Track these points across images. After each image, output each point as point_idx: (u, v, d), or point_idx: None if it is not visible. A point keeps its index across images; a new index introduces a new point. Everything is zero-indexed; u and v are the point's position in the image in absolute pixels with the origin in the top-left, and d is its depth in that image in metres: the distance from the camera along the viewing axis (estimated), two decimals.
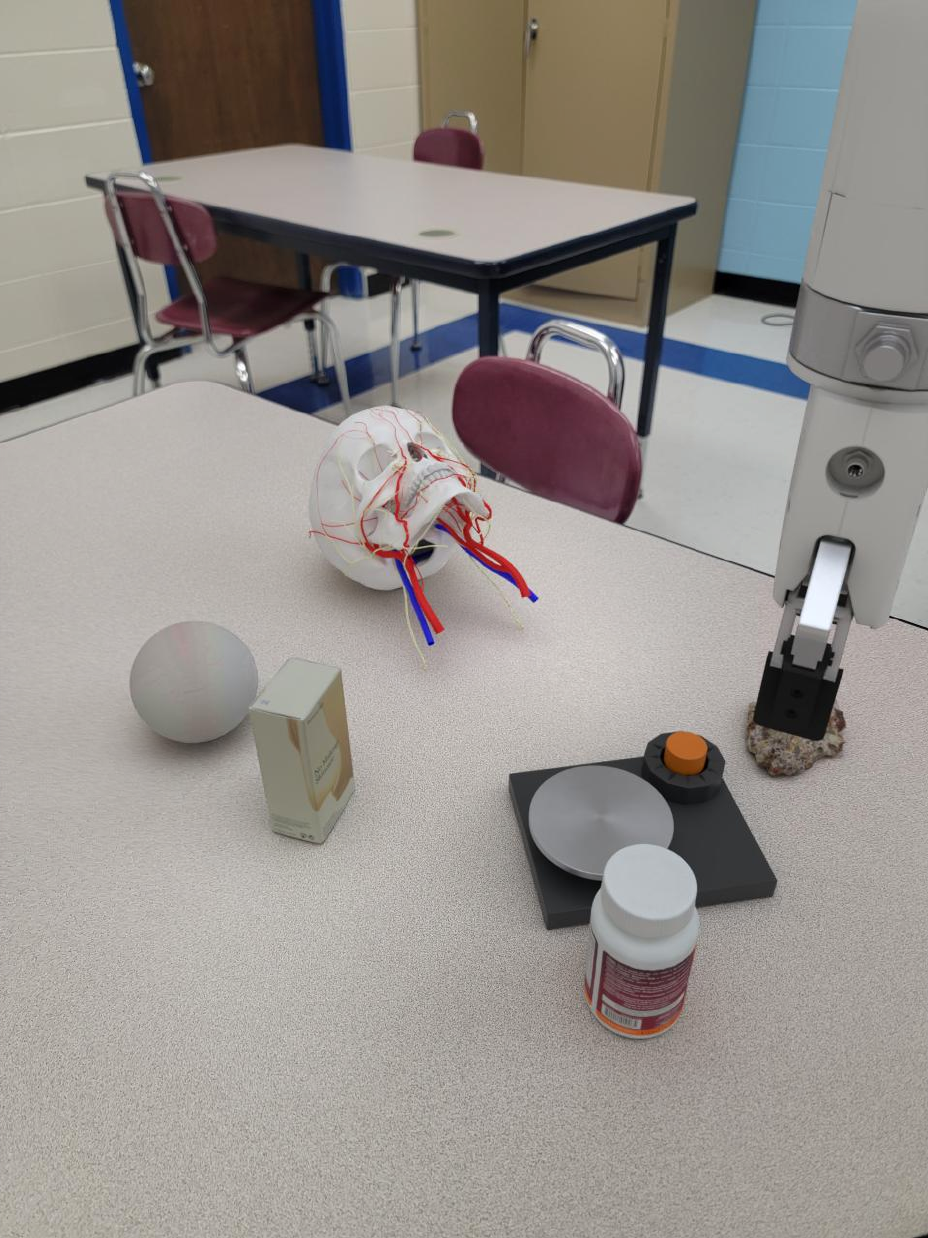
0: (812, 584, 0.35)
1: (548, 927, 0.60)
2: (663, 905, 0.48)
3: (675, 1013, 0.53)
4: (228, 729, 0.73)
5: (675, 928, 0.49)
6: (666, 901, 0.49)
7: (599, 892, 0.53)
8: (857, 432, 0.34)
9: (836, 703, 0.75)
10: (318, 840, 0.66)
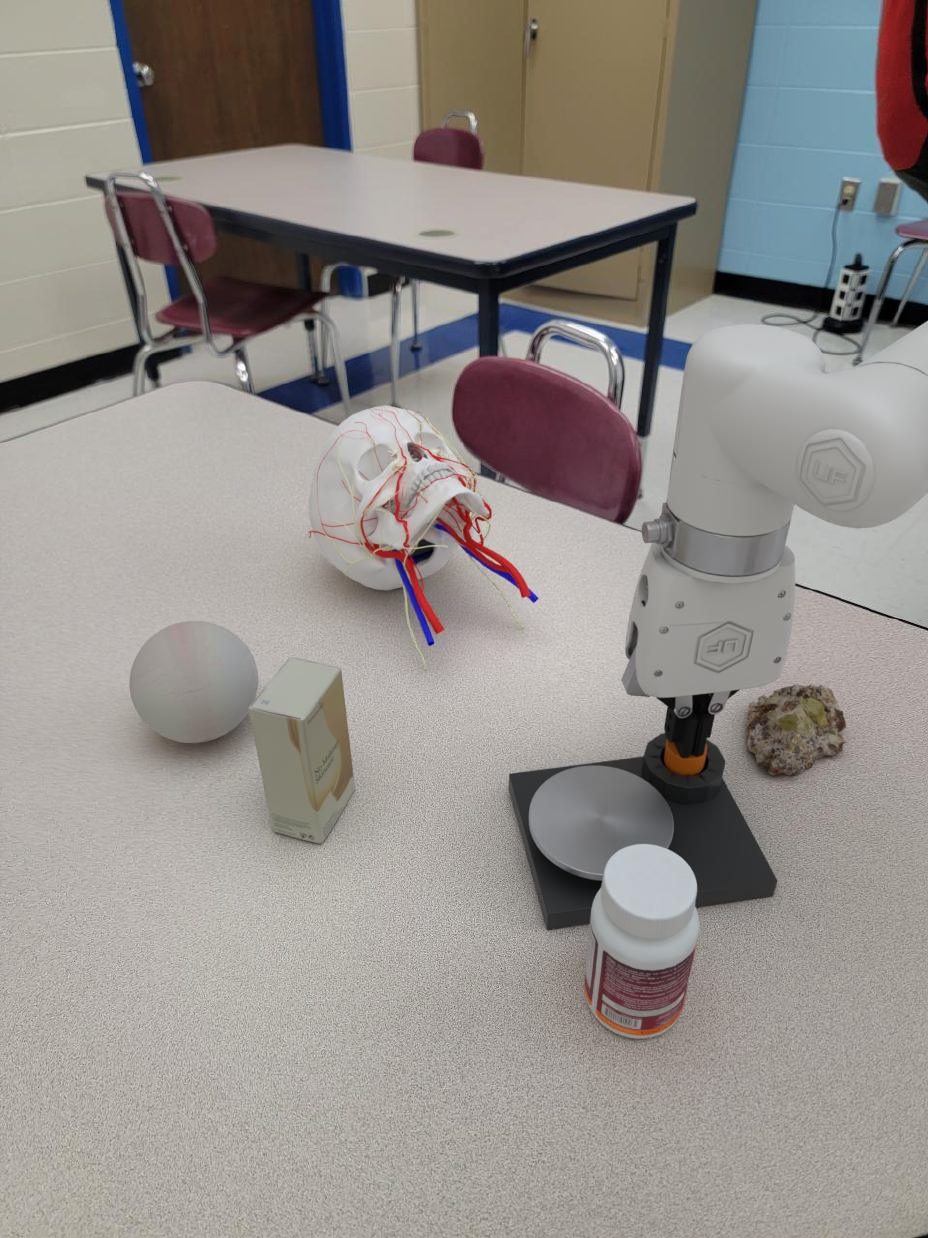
0: (630, 660, 0.62)
1: (548, 927, 0.60)
2: (663, 905, 0.48)
3: (675, 1013, 0.53)
4: (228, 729, 0.73)
5: (675, 928, 0.49)
6: (666, 901, 0.49)
7: (599, 892, 0.53)
8: (648, 568, 0.58)
9: (836, 703, 0.75)
10: (318, 840, 0.66)
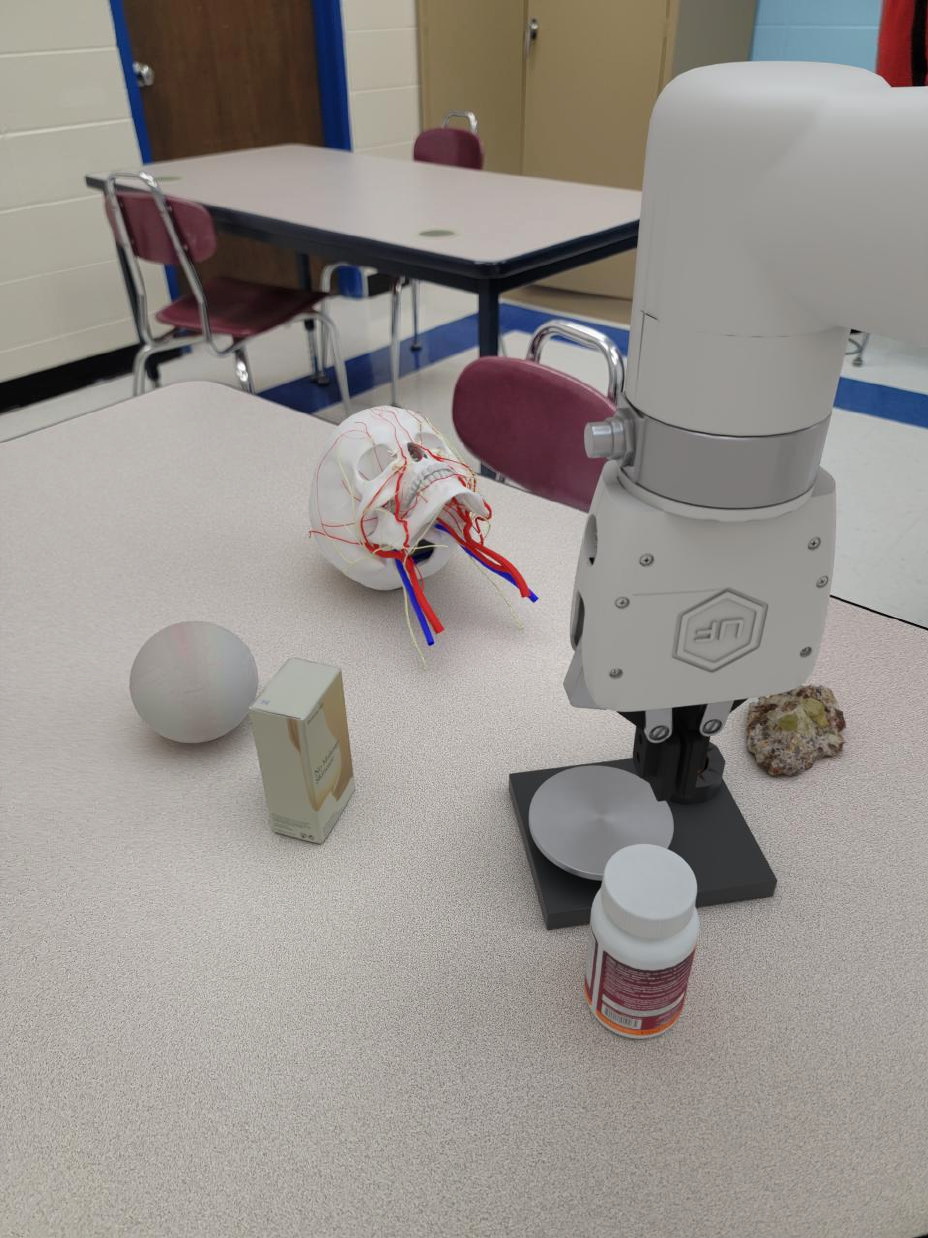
0: (575, 653, 0.40)
1: (548, 927, 0.60)
2: (663, 905, 0.48)
3: (675, 1013, 0.53)
4: (228, 729, 0.73)
5: (675, 928, 0.49)
6: (666, 901, 0.49)
7: (599, 892, 0.53)
8: (597, 503, 0.36)
9: (836, 703, 0.75)
10: (318, 840, 0.66)
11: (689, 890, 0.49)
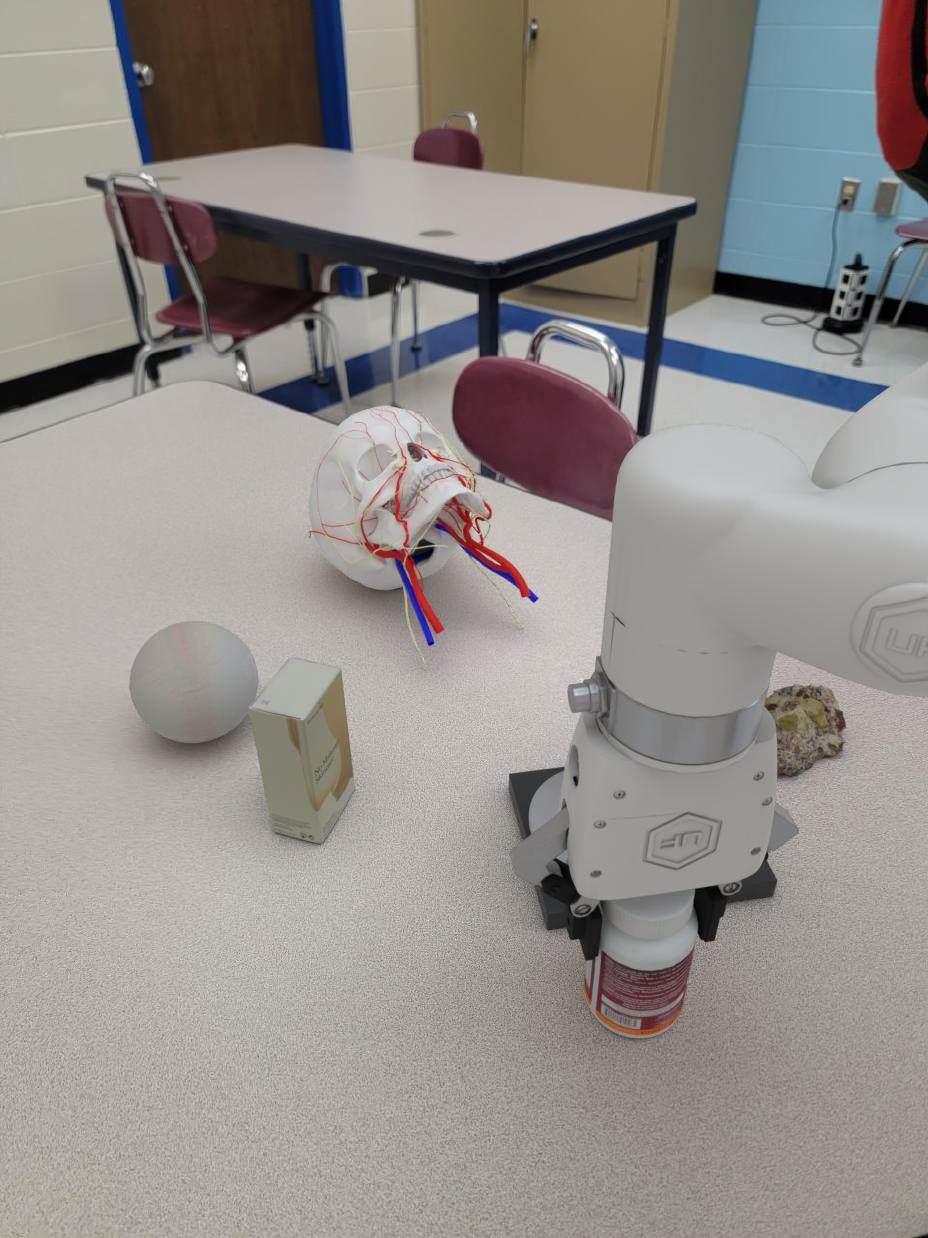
0: (536, 832, 0.47)
1: (548, 927, 0.60)
2: (661, 905, 0.48)
3: (675, 1013, 0.53)
4: (228, 729, 0.73)
5: (673, 928, 0.49)
6: (664, 901, 0.49)
7: None
8: (579, 739, 0.43)
9: (836, 703, 0.75)
10: (318, 840, 0.66)
11: (687, 890, 0.49)
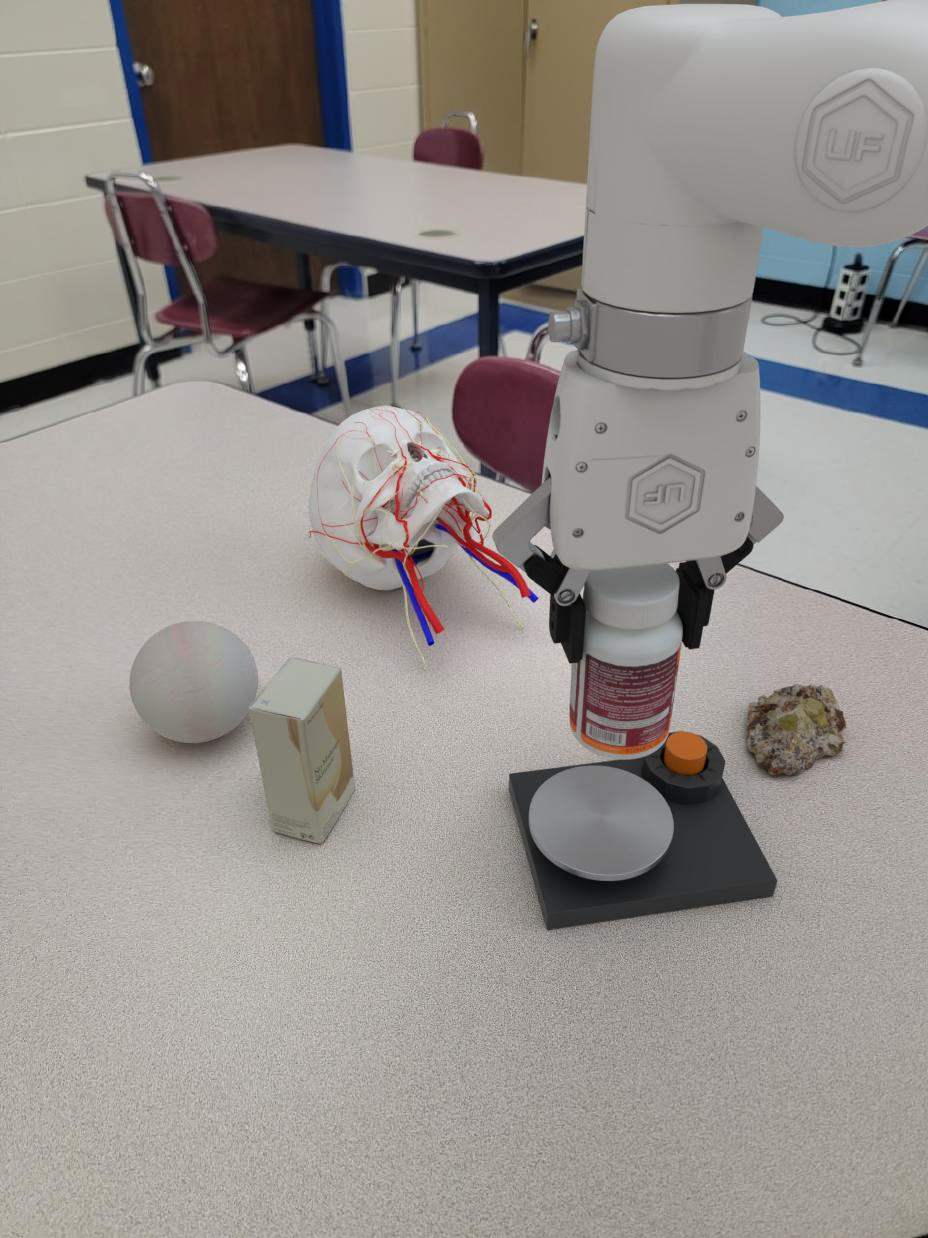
0: (518, 508, 0.46)
1: (548, 927, 0.60)
2: (645, 593, 0.48)
3: (660, 731, 0.53)
4: (228, 729, 0.73)
5: (657, 618, 0.48)
6: (648, 591, 0.48)
7: None
8: (560, 385, 0.42)
9: (836, 703, 0.75)
10: (318, 840, 0.66)
11: (671, 583, 0.49)
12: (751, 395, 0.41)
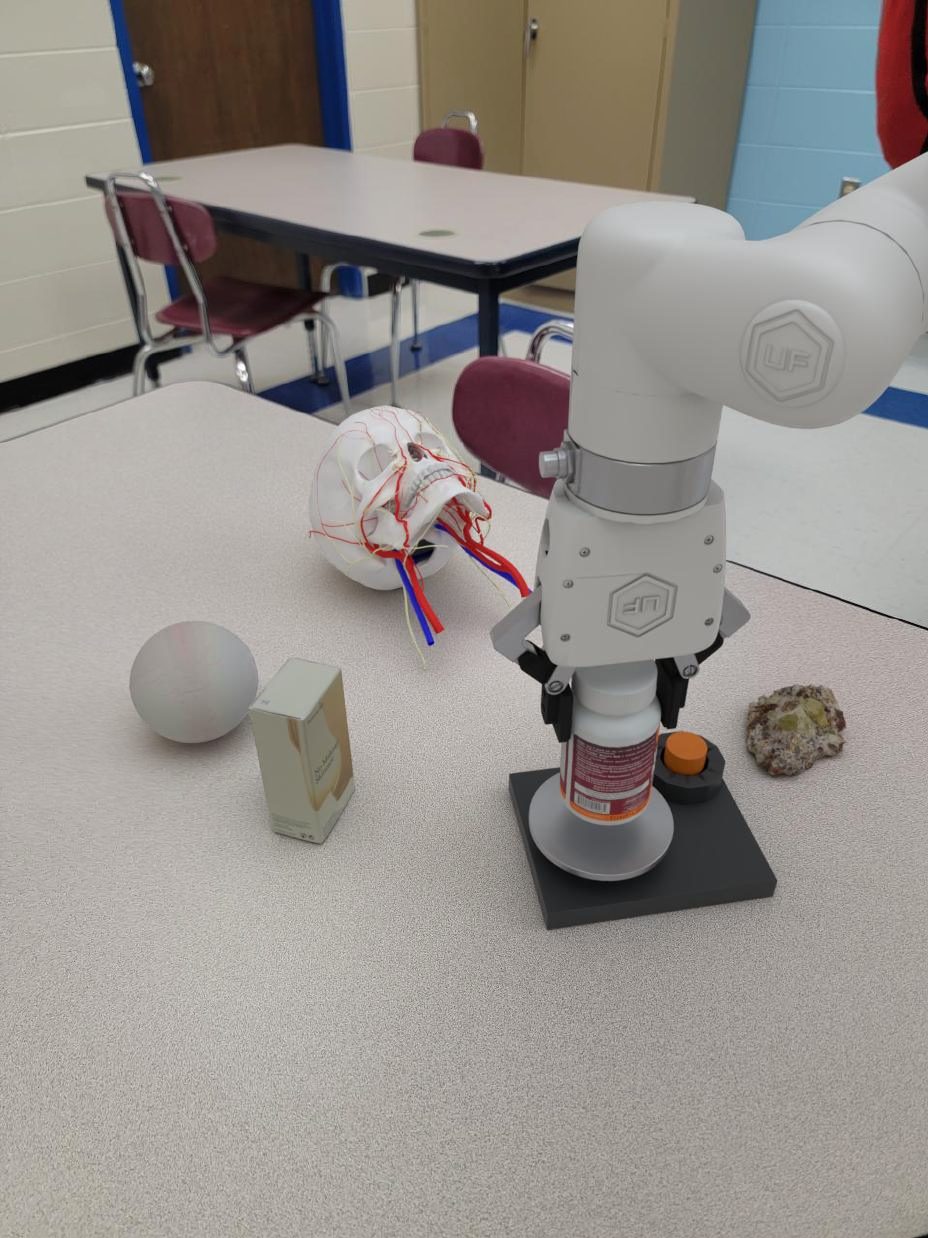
0: (513, 610, 0.52)
1: (548, 927, 0.60)
2: (626, 683, 0.54)
3: (641, 800, 0.59)
4: (228, 729, 0.73)
5: (637, 705, 0.54)
6: (629, 681, 0.54)
7: (571, 688, 0.58)
8: (549, 510, 0.48)
9: (836, 703, 0.75)
10: (318, 840, 0.66)
11: (650, 673, 0.54)
12: (717, 522, 0.47)
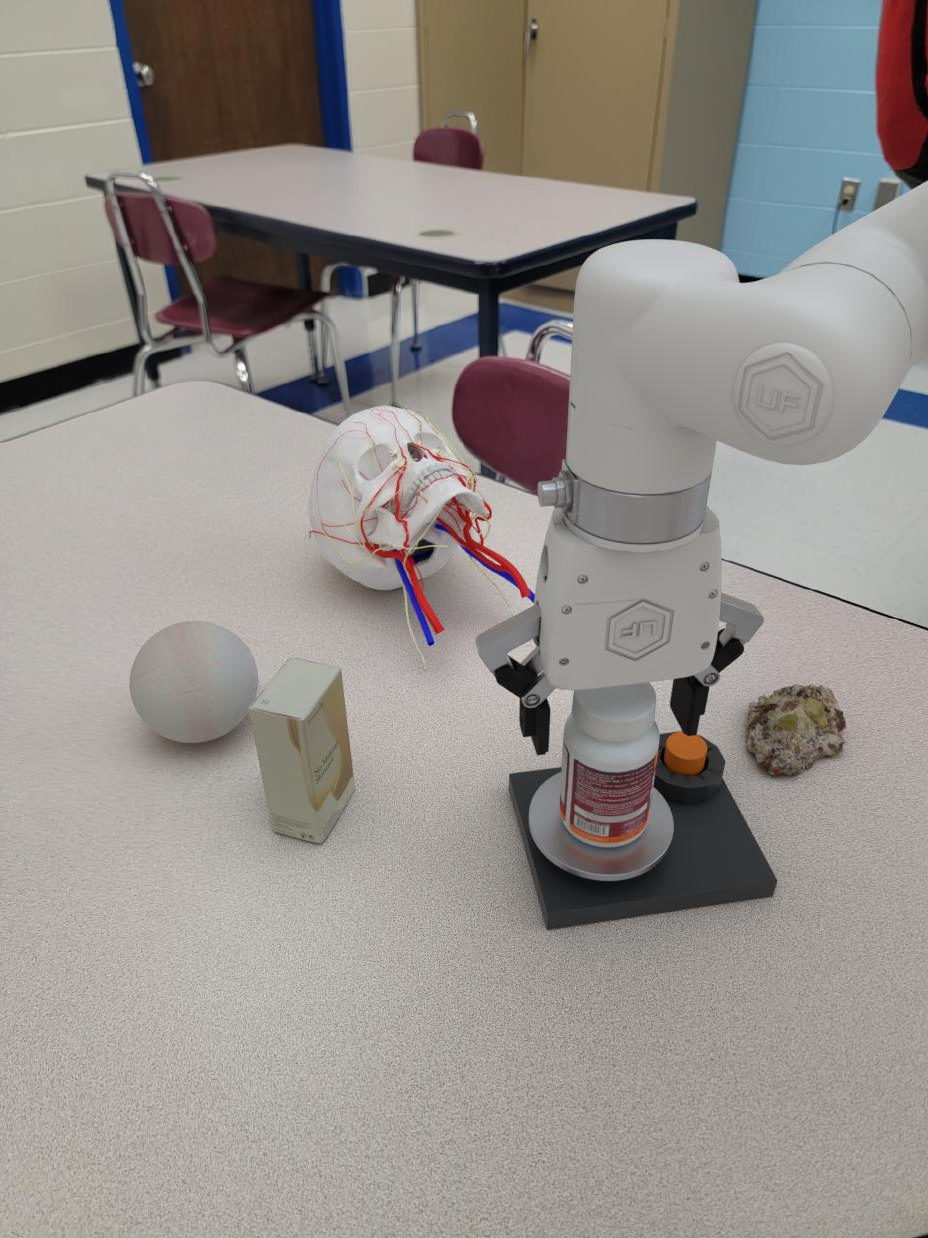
0: (505, 622, 0.52)
1: (548, 927, 0.60)
2: (626, 710, 0.55)
3: (639, 823, 0.60)
4: (228, 729, 0.73)
5: (636, 731, 0.55)
6: (628, 708, 0.55)
7: (571, 713, 0.59)
8: (548, 537, 0.49)
9: (836, 703, 0.75)
10: (318, 840, 0.66)
11: (649, 700, 0.56)
12: (712, 550, 0.48)
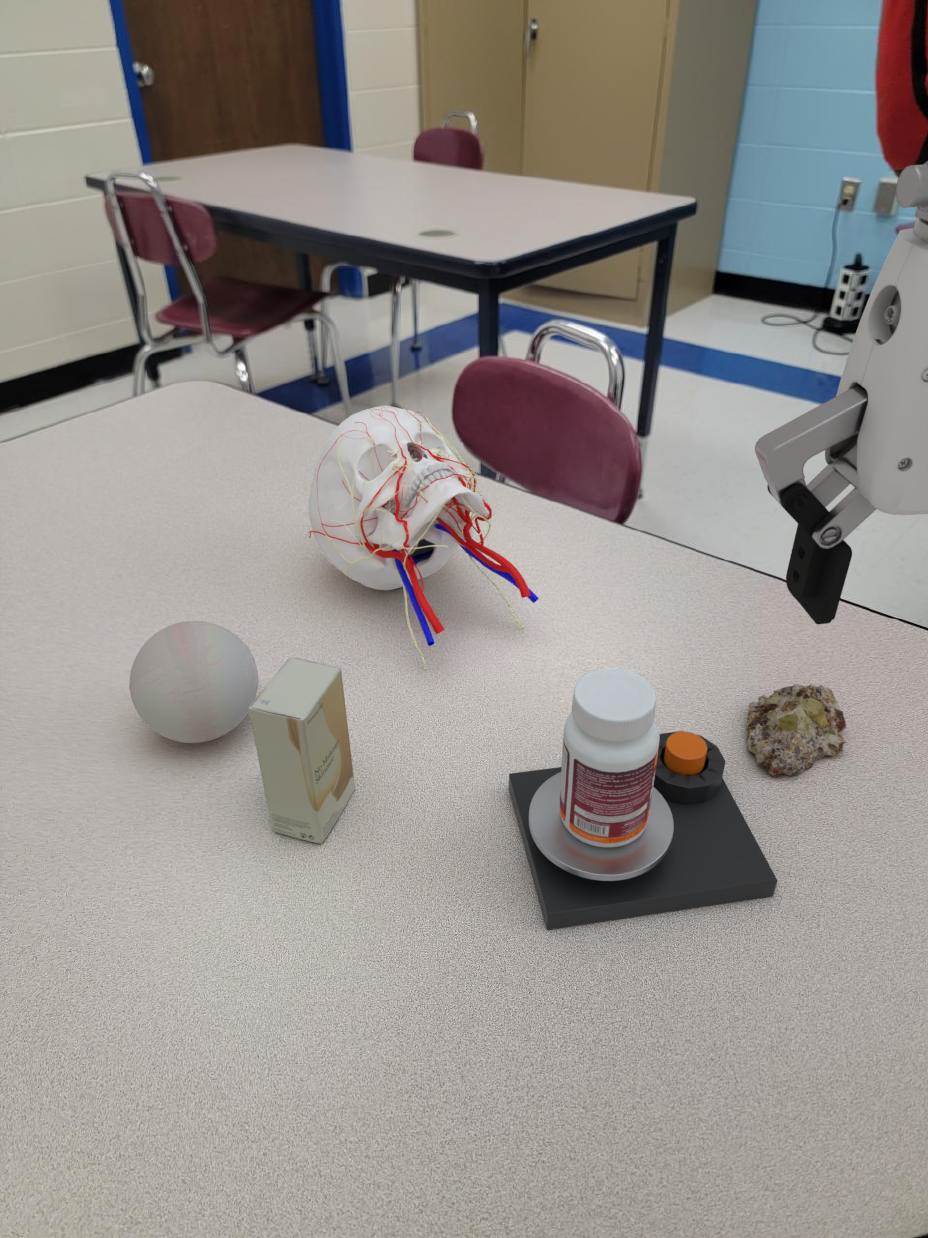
0: (804, 416, 0.36)
1: (548, 927, 0.60)
2: (626, 710, 0.55)
3: (639, 823, 0.60)
4: (228, 729, 0.73)
5: (636, 731, 0.55)
6: (628, 708, 0.55)
7: (571, 713, 0.59)
8: (897, 270, 0.33)
9: (836, 703, 0.75)
10: (318, 840, 0.66)
11: (649, 700, 0.56)
12: None
